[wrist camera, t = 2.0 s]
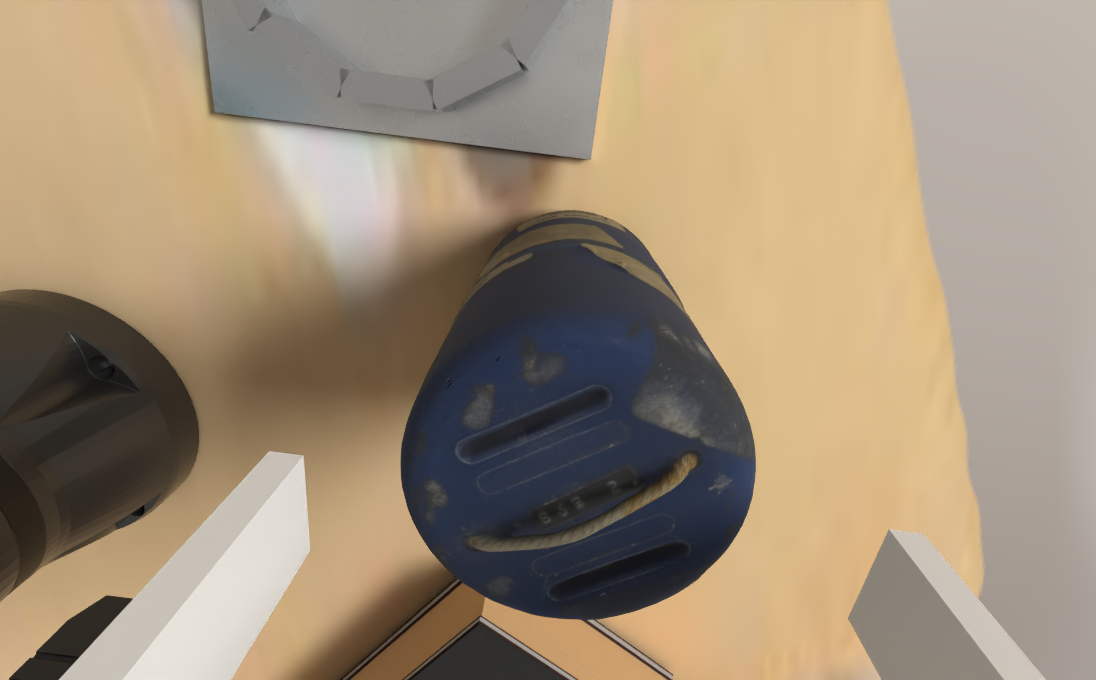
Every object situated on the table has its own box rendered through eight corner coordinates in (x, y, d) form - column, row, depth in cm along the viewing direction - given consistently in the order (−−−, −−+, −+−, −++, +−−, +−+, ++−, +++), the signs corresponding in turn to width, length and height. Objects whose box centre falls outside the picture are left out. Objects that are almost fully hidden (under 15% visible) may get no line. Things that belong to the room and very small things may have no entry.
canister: (463, 224, 28) (303, 385, 11) (646, 186, 27) (775, 299, 10) (506, 386, 31) (435, 693, 15) (670, 358, 30) (794, 654, 14)
